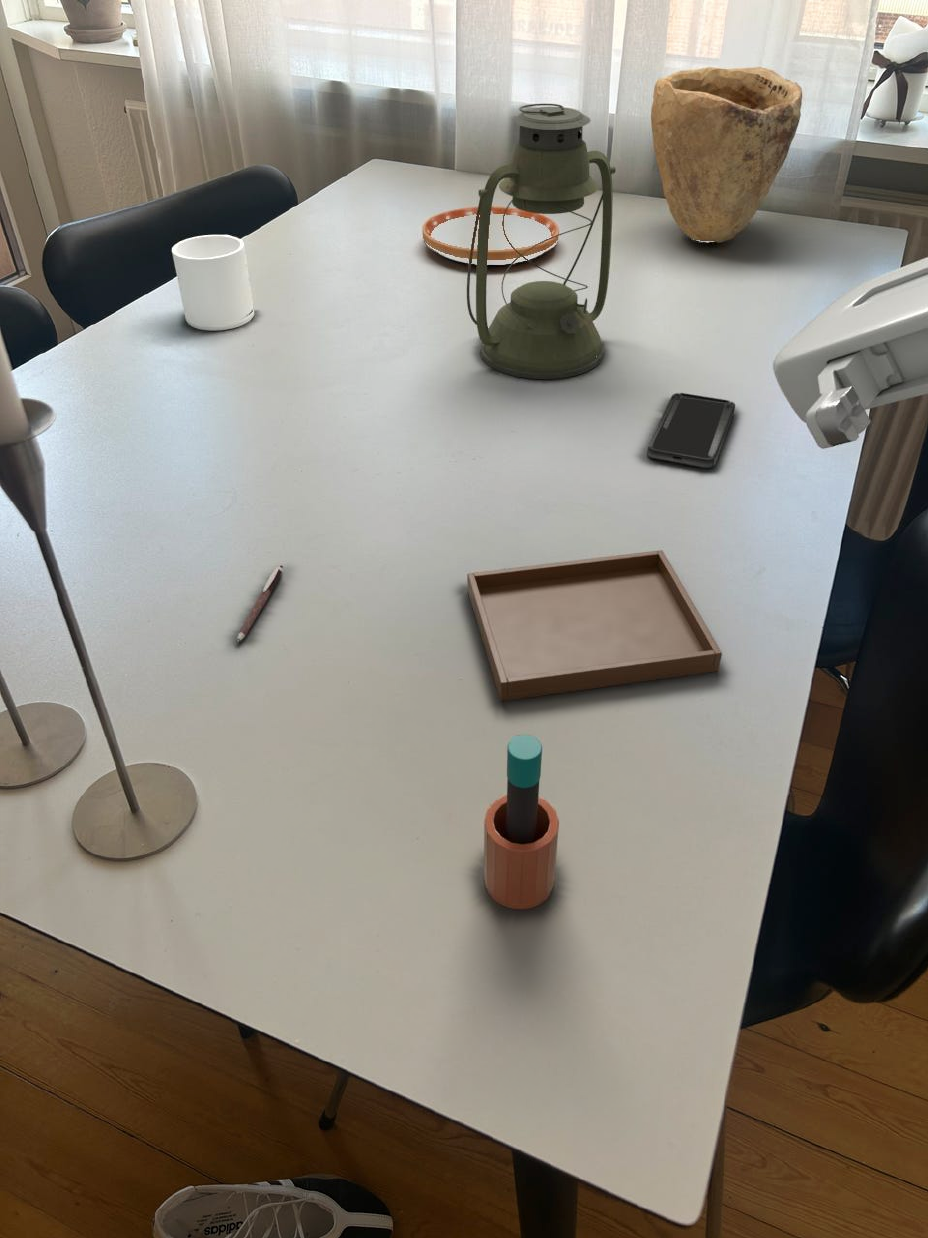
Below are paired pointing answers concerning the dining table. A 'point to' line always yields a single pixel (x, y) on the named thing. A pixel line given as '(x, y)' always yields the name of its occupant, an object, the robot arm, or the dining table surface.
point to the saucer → (492, 254)
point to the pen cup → (520, 858)
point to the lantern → (546, 184)
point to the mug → (213, 281)
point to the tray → (588, 625)
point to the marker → (523, 788)
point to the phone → (691, 430)
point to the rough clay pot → (721, 144)
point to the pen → (260, 602)
